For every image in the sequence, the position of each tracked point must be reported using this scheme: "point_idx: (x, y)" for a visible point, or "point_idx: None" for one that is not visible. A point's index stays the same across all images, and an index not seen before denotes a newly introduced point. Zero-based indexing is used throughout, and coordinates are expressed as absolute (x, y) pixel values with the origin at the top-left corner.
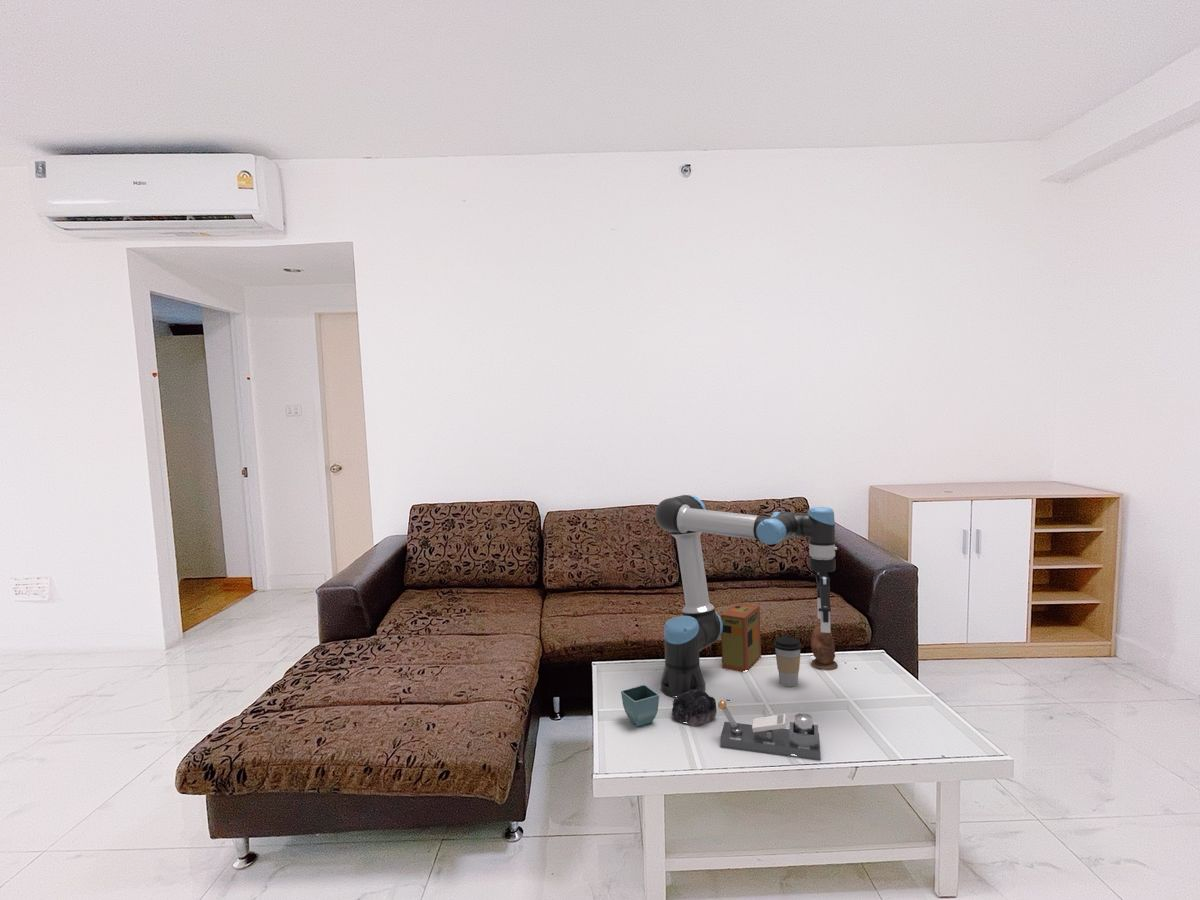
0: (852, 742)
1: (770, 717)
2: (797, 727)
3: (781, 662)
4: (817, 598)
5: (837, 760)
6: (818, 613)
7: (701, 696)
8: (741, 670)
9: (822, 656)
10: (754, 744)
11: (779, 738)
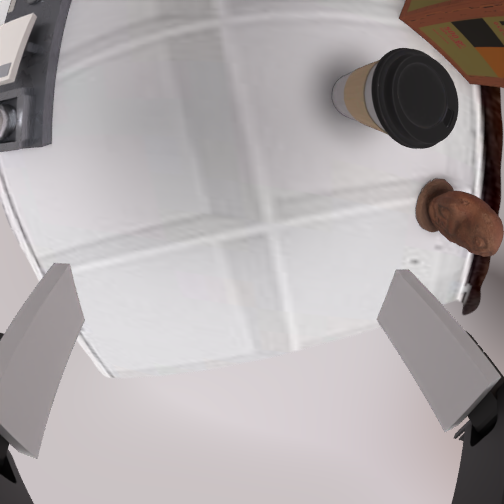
0: (64, 206)
1: (14, 47)
2: None
3: (364, 69)
4: (489, 383)
5: (6, 177)
6: (413, 296)
7: None
8: (404, 10)
9: (438, 208)
10: None
11: None
